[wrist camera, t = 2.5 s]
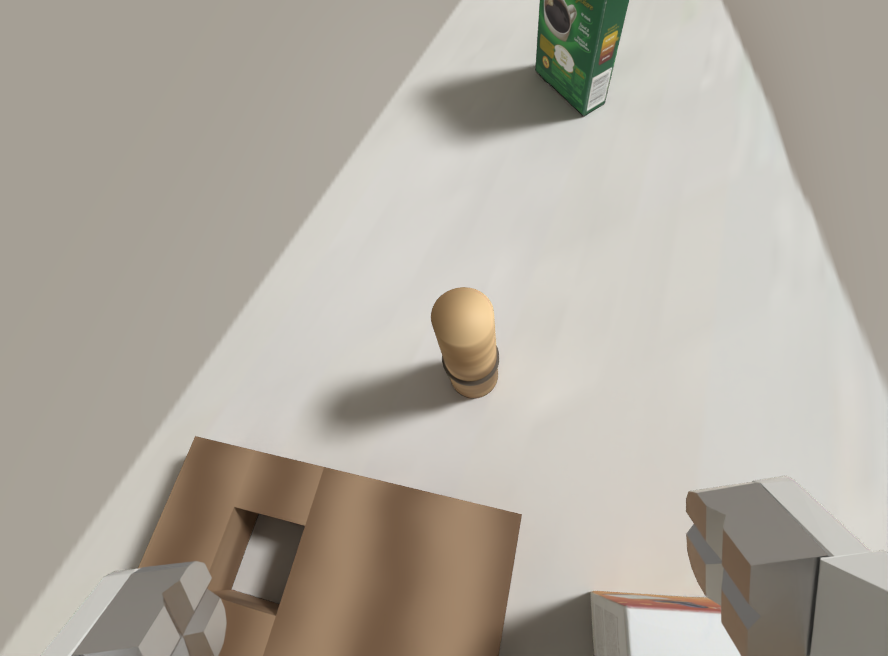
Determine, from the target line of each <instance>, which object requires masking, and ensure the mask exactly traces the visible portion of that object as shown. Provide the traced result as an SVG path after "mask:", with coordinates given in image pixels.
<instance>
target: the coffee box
mask: <svg viewBox="0 0 888 656" xmlns="http://www.w3.org/2000/svg"><path fill="white" fill-rule="evenodd" d="M628 3H629V0H540V6H539V22H538V37H537V54H536V68H535V70H536V71H537V72H538V73H539V74H540V75H541V76H542V77H543V78H544V80H545V81H546V82H547V83H550V84H551V85H552V86H553V87H554V88H555V89H556V90H557V91H558V92H559V93H560V94H561V95H562V96H563V97H564V98H565V99H566V100H568V102H569V103H570V104H571V105H572V106H573V107H574V108H576V109H577V110H578V111H579V112H580V113H581V114H582V115H583V116H585V115H587V114H588V113H590V112H591V111H593V110H595V109H596V108H598V107H600V106H602V105H604V104H605V100H606V96H607V93H608V88H609V84H610V80H611V75H612V71H613V67H614V62H615V58H616V54H617V49H618V45H619V41H620V37H621V33H622V28H623V24H624V20H625V15H626V11H627V7H628Z"/></svg>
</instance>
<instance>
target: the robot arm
mask: <svg viewBox="0 0 888 656" xmlns="http://www.w3.org/2000/svg"><path fill="white" fill-rule="evenodd" d="M686 512H687V514H688V515H689V517H690V518H691V520H692V521H693V523H694V524H693V526H692V527H691V528H690V530H689V531H688V532H687V534H686V537H687V552H688V556H689V560H690V564H691V567H692V570H693V572H694V575H695V577H696V579H697V582H698V584H699V585H700V587H701V589H702V591H703V592H704V594H705V596H706V597H708V598H709V599H711V600H712V601H714V602H715V603H717V604H719V605H720V606H721V623H722V625H723V626H724V628H725V630H726V631H727V633H728V635H729V636H730V638H731V640H732V641H733V643H734V645H735V646H736V648H737V650H738V651H739V653H740V655H741V656H888V552H887V551H884V550H879V551H871V550H870V549H869V548H868V547H867V546H866V545H865V544H864V543H862V542H861V541H860V540H859V539H858V538H857V537H856V536H855V535H854V534H853V533H852V532H851V531H849V530H848V529H847V528H846V527H845V526H844V525H843V524H842V523H841V522H840V521H839V520H837V519H836V518H835V517H834V516H833V515H832V514H831V513H830V512H829V511H828V510H827V509H826V508H824V507H823V506H822V505H821V504H820V503H819V502H818V501H817V500H816V499H815V498H814V497H813V496H811V495H810V494H809V493H808V492H807V491H806V490H805V489H804V488H803V487H802V486H801V485H799V484H798V483H797V482H796V481H795V480H794V479H792V478H790V477H787V476H780V477H774V478H768V479H762V480H756V481H752V482H747V483H740V484H733V485H727V486H720V487H713V488H706V489H700V490H693V491H689V492H688V495H687V498H686ZM211 579H212V577H211V575H210V573H209V571H208V569H207V567H206V565H205V563H202V562H198V561H192V562H184V563H175V564H167V565H158V566H149V567H142V568H139V569H129V570H120V571H114V572H112V573H110V574H108V575H106V576H105V577H103V578H102V579H101V581H100V582H99V583H98V584H97V586H96V587H95V588H94V589H93V591H92V592H91V593H90V594H89V596H88V597H87V598H86V599H85V601H84V602H83V603H82V604H81V606H80V607H79V608H78V609H77V611H76V612H75V613H74V614H73V616H72V617H71V618H70V619H69V621H68V622H67V623H66V624H65V626H64V627H63V628H62V629H61V631H60V632H59V633H58V634H57V635H56V637H55V638H54V639H53V640H52V642H51V643H50V644H49V645H48V647H47V648H46V649H45V650H44V652H43V653H42V654H41V655H40V656H218V655H219V653H220V650H221V648H222V646H223V643H224V638H225V631H226V624H227V622H226V614H225V608H224V606H223V603H222V601H221V598H220V597H218V596H217V595H216V594H214V593H213V592H211V591H210V590H208V586H209V584H210V581H211Z"/></svg>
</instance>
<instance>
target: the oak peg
mask: <svg viewBox="0 0 888 656" xmlns="http://www.w3.org/2000/svg"><path fill="white" fill-rule="evenodd" d="M431 322H432V326H433V329H434V332H435V335H436V338H437V341H438V344H439V347H440V350H441V353H442V362H443V366H444V369H445V371H446V373H447V374H448V376H449V377H450V380H451V383H452V385H453V387H454V388H455V390H456V391H457V392H458V393H460V394H461V395H463V396H465V397H468V398H479V397H482V396H485V395H487V394H488V393H490V392H491V391H492V390H493V388H494V387H495V385H496V383H497V380H498V365H499V352H498V348H497V346H496V337H495V322H494V310H493V306H492V304H491V302H490V300H489V299H488V298H487V297H486V296H485V295H484V294H483V293H482V292H480V291H478V290H476V289H473V288H466V287H461V288H455V289H452V290H449V291H447V292H446V293H444V294H443V295H441V296H440V297H439V298H438V299H437V301H436V302H435V304H434V306H433V308H432V312H431Z"/></svg>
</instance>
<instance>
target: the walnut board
mask: <svg viewBox="0 0 888 656" xmlns="http://www.w3.org/2000/svg"><path fill="white" fill-rule="evenodd" d="M258 514H263V515H267V516H271V517H274V518H278V519H282V520H285V521H289V522H293V523H297V524H300V525H304V526H305V528H304V531H303V534H302V537H301V540H300V543H299V546H298V549H297V552H296V555H295V558H294V562H293V565H292V568H291V571H290V574H289V577H288V580H287V583H286V586H285V589H284V592H283V595H282V599H281V602H280V604H277V603H274V602H270V601H267V600H264V599H261V598H257V597H254V596H251V595H248V594H244V593H241V592H238V591H235V590H231V589H232V586H233V583H234V580H235V578H236V575H237V572H238V569H239V567H240V564H241V561H242V558H243V555H244V553H245V550H246V547H247V544H248V542H249V539H250V536H251V533H252V531H253V528H254V525H255V522H256V520H257V517H258ZM521 516H522V514H518V513H514V512H509V511H505V510H501V509H497V508H493V507H488V506H484V505H480V504H476V503H472V502H468V501H463V500H459V499H455V498H451V497H447V496H443V495H438V494H434V493H430V492H426V491H422V490H418V489H413V488H409V487H405V486H401V485H397V484H393V483H388V482H384V481H380V480H376V479H372V478H367V477H363V476H359V475H355V474H351V473H347V472H342V471H338V470H334V469H330V468H326V467H322V466H317V465H313V464H309V463H305V462H301V461H297V460H292V459H288V458H284V457H280V456H276V455H272V454H267V453H263V452H259V451H255V450H251V449H247V448H242V447H238V446H234V445H230V444H226V443H221V442H217V441H213V440H209V439H205V438H201V437H196V436H195V438H194V440H193V443H192V445H191V447H190V450H189V452H188V454H187V456H186V459H185V461H184V463H183V466H182V468H181V470H180V473H179V475H178V477H177V480H176V482H175V484H174V486H173V489H172V491H171V493H170V496H169V498H168V500H167V503H166V505H165V507H164V509H163V512H162V514H161V516H160V519H159V521H158V523H157V526H156V528H155V530H154V533H153V535H152V537H151V539H150V542H149V544H148V546H147V549H146V551H145V553H144V556H143V558H142V560H141V562H140V565H139V567H138V569H139V568H142V567H149V566H158V565H167V564H175V563H184V562H192V561H198V562H202V563H205V565H206V567H207V569H208V571H209V573H210V575H211V577H212V579H211V581H210V584H209V586H208V590H210V591H211V592H213V593H214V594H216V595H217V596H218V597H220V598H221V601H222V603H223V606H224V608H225V614H226V622H227V624H226V631H225V638H224V643H223V646H222V648H221V650H220V653H219V655H218V656H498V655H499V649H500V643H501V637H502V631H503V625H504V619H505V613H506V607H507V601H508V595H509V589H510V583H511V577H512V571H513V565H514V559H515V553H516V547H517V541H518V534H519V528H520V522H521Z"/></svg>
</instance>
